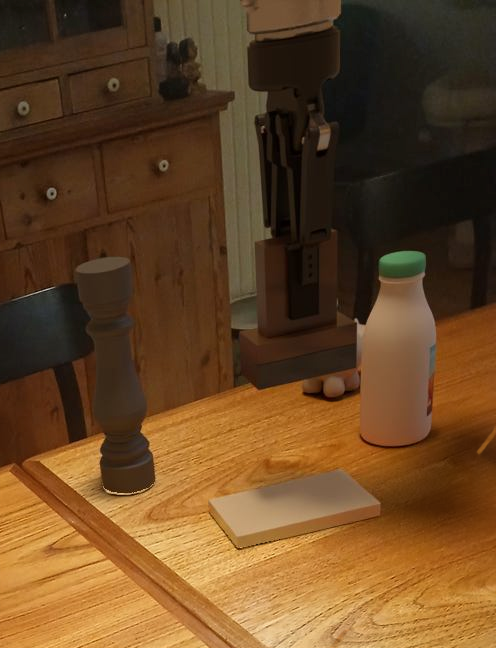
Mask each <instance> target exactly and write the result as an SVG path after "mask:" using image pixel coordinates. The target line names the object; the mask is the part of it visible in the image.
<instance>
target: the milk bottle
mask: <svg viewBox="0 0 496 648" xmlns="http://www.w3.org/2000/svg"><path fill="white" fill-rule="evenodd" d="M426 268H427V258H426V254H425V253H424V252H421V251H415V250H402V251H401V250H400V251H396V252H391V253H388V254H385V255H383V256H382V257H381V258H379V261H378V274H379V275H378V280H379V281H380V287H379V291H378V295H377V298H376V300H375V303H374V304H373V308H372V310H371V312H370V313H369V316H368V318H367V320H366V323H365V325H366V326H365V329H364V334H363V341H362V357H361V364H360V386H359V387H360V391H359V393H360V395H359V434H360V436H361V438H362V440H364V441H365V442H367V443H370V444H373V445H377V446H381V447H382V446H383V447H400V446H402V447H403V446H407V445H412V444H416V443H418V442H421V441H423V440H425V438H426V437H428V435H429V433H430V431H431V428H432V421H433V420H432V419H433V402H434V390H435V389H434V388H435V373H436V358H437V357H436V355H437V330H436V329H437V328H436V321H435V318H434V315H433V313H432V310H431V308H430V306H429V302H428V301H427V298H426V294H425V291H424V286H423V280H424V279H423V278H424V277H425V276H426V272H425V271H426Z"/></svg>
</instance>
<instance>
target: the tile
mask: <svg viewBox="0 0 496 648" xmlns="http://www.w3.org/2000/svg"><path fill="white" fill-rule="evenodd" d="M207 501H208V512H209V514H210V515H211V517H212V518H213V519H214V520H215V521H216V523H217V524H218V525H219V527H220V528H221V530H222V531H223V530H224V531H225V532H224V531H223V532H224V533H225V535H226V534H227V535H228V536H227V535H226V536H227V537H228V539H229V540H230V539H231V540H232V541H233V542H234V544H235V545H236V546H235V545H234V544H233V545H234V546H235V548H236V547H237V548H240V547H244V546H245V547H246V546H250V545H254V546H257V545H256V544H258V545H260V544H259V543H263V544H266V543H265V542H267V543H270V542H269V541H271V542H275V541H279V539H280V540H284V539H288V538H292V537H296V536H300V535H305V534H308V533H309V534H310V533H314V532H317V531H321V530H327V529H330V528H334V527H338V526H344V525H346V524H347V525H348V524H351V523H355V522H356V523H357V522H359V521H364V520H368V519H372V518H378V517H380V516H381V509H382V508H381V506H382V505H381V504H382V503H381V501H379V500H378V499H377V498H376V497H375V496H374V495H372V493H370V492H369V491H368V490H366V488H364V487H363V486H362V485H361V484H360V483H359V482H358V481H357V480H356V479H355V478H354V477H352V476H351V475H350V474H349V473H347V472H346V471H345V470H344V469H343V468H340V469H334V470H330V471H326V472H322V473H317V474H313V475H309V476H305V477H300V478H296V479H291V480H287V481H283V482H279V483H275V484H270V485H266V486H261V487H257V488H253V489H248V490H245V491H241V492H235V493H231V494H227V495H224V496H219V497H214V498H211V499H208V500H207ZM231 540H230V541H231ZM274 540H275V541H274ZM232 541H231V542H232ZM233 542H232V543H233ZM250 547H251V546H250ZM237 548H236V549H237ZM246 548H247V547H246Z"/></svg>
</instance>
